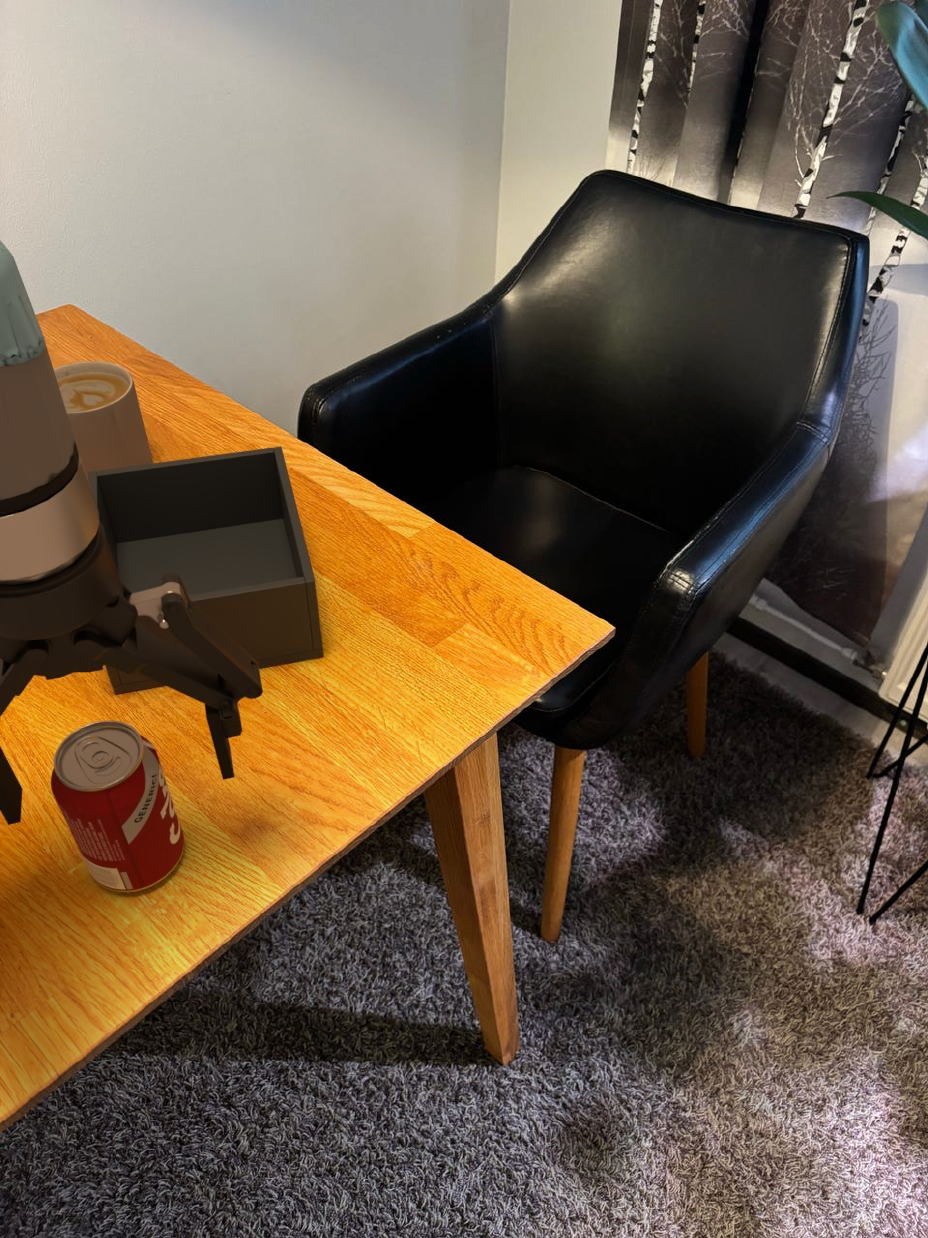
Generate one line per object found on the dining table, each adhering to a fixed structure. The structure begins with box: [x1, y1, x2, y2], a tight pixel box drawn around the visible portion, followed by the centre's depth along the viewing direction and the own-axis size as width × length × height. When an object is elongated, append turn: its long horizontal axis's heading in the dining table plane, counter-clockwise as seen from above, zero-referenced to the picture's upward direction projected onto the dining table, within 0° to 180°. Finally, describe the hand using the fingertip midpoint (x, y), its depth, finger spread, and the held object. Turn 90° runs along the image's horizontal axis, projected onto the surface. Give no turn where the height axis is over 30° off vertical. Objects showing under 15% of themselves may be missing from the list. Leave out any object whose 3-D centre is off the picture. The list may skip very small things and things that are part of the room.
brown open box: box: [88, 445, 324, 695], centre depth 86 cm, size 18×20×9 cm
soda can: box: [50, 720, 185, 893], centre depth 66 cm, size 7×7×12 cm
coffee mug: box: [53, 360, 154, 478], centre depth 101 cm, size 13×10×10 cm
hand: (123, 784), depth 64 cm, fingers open, 13 cm apart
